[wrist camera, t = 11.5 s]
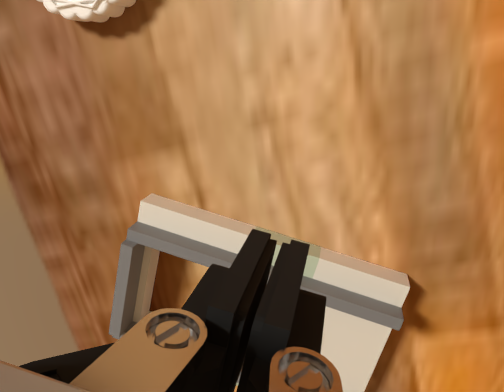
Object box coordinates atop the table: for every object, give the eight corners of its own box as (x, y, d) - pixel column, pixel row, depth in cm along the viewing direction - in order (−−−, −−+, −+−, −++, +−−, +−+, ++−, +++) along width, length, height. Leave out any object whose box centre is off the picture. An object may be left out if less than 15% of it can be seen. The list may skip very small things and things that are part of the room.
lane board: (407, 274, 41) (415, 305, 36) (348, 408, 47) (348, 450, 42) (151, 193, 44) (125, 211, 39) (129, 328, 50) (105, 359, 45)
